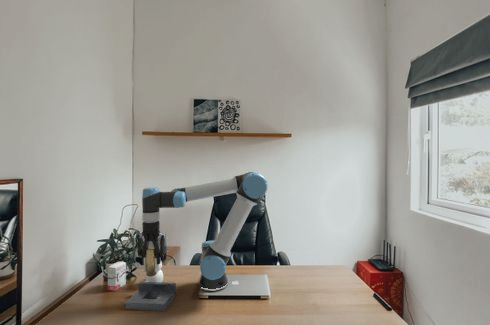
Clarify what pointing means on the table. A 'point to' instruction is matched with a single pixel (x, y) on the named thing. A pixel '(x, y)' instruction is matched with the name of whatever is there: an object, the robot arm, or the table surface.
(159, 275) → the cat figurine
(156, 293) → the jig
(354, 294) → the table surface
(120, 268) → the ink box
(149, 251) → the sleeve
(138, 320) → the table surface
